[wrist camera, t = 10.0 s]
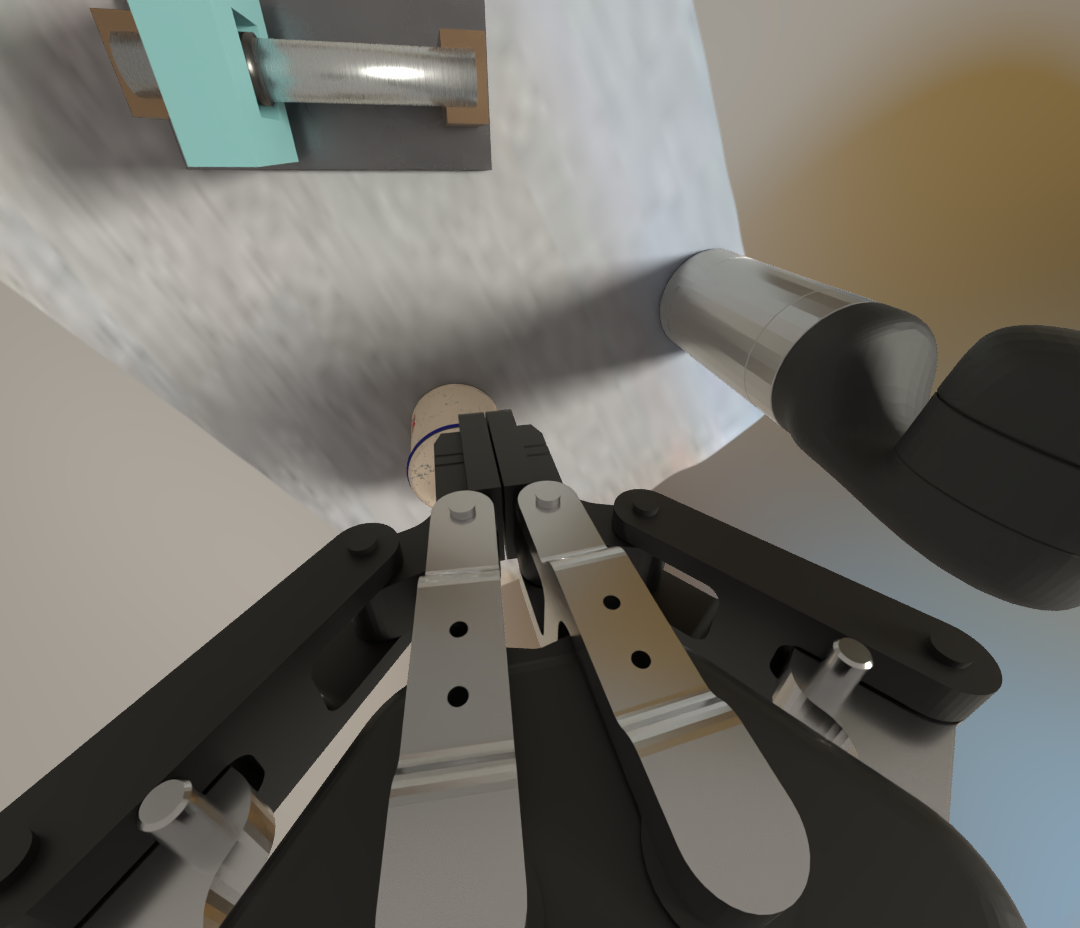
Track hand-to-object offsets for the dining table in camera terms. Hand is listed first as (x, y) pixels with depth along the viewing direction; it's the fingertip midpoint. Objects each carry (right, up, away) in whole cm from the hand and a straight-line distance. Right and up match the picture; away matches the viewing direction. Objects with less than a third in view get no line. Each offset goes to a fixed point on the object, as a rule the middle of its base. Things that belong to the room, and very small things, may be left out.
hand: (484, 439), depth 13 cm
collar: (-15, +22, +13) cm, 30 cm away
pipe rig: (-12, +24, +16) cm, 31 cm away
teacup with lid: (-6, +3, +33) cm, 34 cm away
